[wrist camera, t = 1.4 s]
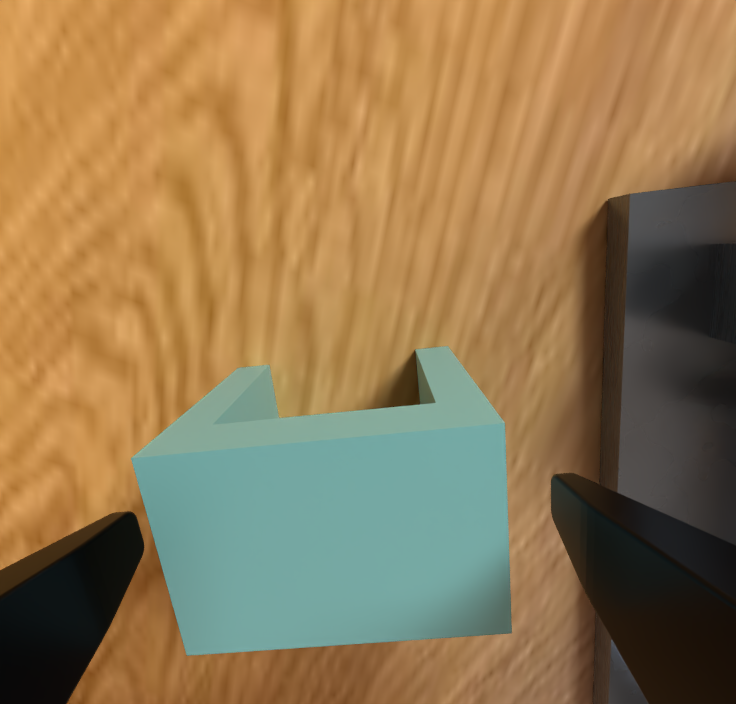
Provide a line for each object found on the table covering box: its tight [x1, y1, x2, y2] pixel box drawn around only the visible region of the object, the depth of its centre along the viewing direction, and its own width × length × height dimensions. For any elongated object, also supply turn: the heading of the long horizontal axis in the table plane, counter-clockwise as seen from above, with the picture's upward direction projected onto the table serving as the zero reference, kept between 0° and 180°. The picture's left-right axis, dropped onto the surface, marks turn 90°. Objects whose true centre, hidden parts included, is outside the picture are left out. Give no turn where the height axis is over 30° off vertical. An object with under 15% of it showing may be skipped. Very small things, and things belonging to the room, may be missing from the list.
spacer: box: [131, 346, 512, 656], centre depth 10 cm, size 4×7×6 cm
